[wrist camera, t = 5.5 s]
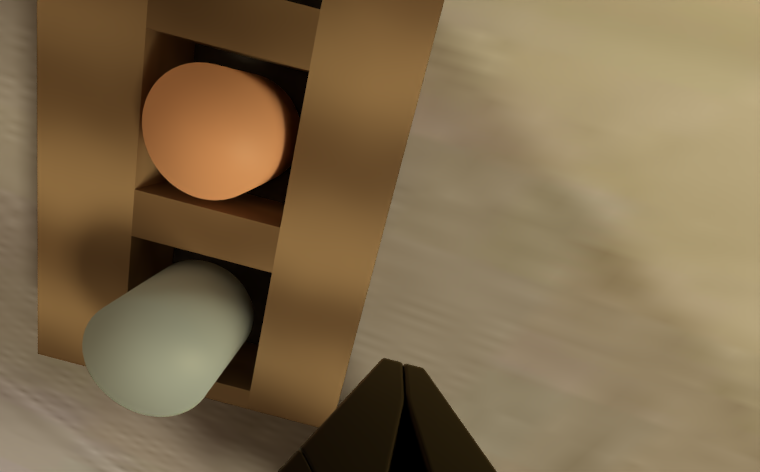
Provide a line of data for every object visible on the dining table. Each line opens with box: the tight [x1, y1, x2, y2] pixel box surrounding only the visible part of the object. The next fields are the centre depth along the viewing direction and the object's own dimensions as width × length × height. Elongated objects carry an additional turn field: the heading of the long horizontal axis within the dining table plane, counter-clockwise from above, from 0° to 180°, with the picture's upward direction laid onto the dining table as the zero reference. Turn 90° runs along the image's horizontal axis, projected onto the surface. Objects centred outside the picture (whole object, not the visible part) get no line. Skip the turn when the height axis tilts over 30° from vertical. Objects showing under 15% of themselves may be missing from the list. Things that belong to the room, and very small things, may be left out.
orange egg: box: [142, 62, 300, 200], centre depth 17 cm, size 5×5×4 cm
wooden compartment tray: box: [37, 0, 444, 427], centre depth 17 cm, size 24×14×4 cm, turn 166°
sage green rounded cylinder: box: [82, 260, 254, 417], centre depth 17 cm, size 5×5×4 cm
